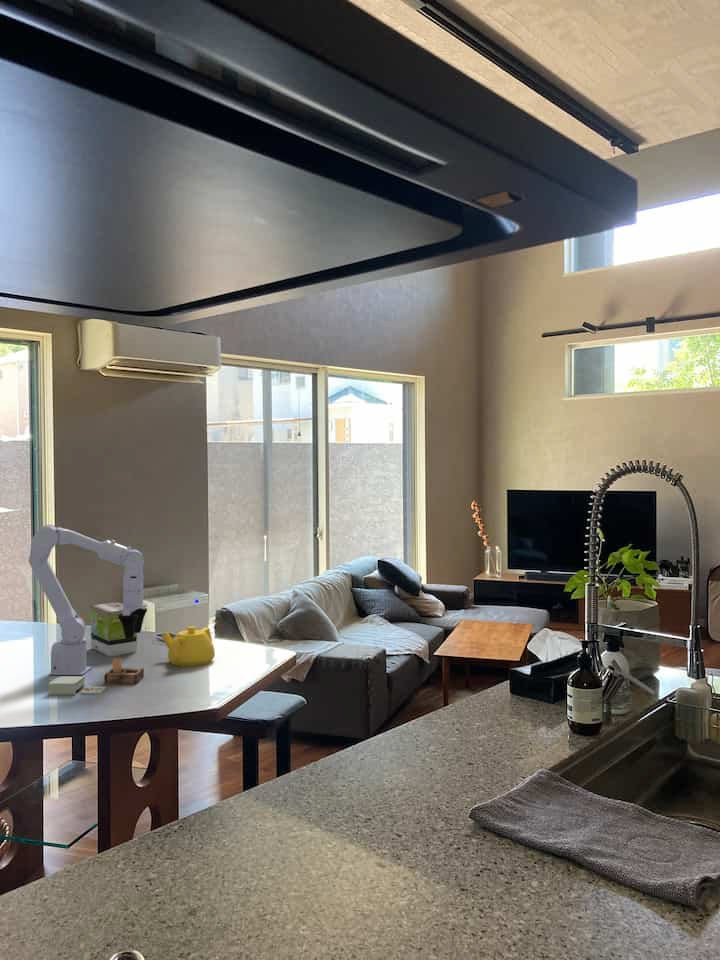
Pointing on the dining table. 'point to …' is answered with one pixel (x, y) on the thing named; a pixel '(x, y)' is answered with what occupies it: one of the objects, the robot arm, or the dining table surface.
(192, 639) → the teapot
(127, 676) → the wooden compartment tray
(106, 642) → the tea box
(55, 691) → the cover
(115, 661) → the pin
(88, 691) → the tile
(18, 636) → the dining table surface
